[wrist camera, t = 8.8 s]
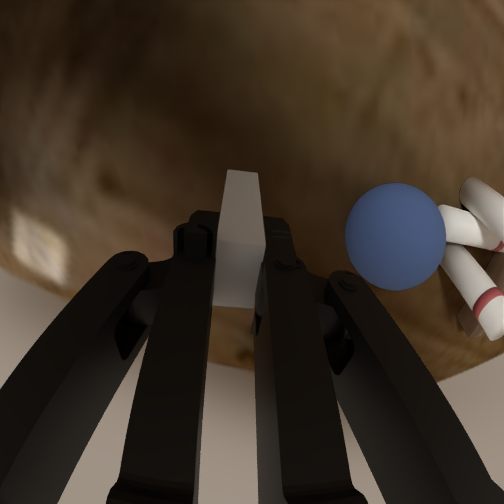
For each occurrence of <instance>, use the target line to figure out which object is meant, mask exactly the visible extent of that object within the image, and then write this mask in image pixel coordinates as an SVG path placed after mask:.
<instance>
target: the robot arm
mask: <svg viewBox="0 0 504 504" xmlns="http://www.w3.org/2000/svg"><path fill="white" fill-rule="evenodd" d="M173 243H174V254H173V257H172V258H170V259H167V260H164V261H159V262H148V258H147V257H146V256H145V255H144V254H142V253H140V252H137V251H123V252H120V253H118V254H115V255H114V256H113V257H111V258H110V259H109V260H108V261H107V262H106V263H105V264H104V265H103V266H102V267H101V268H100V269H99V270H98V271H97V272H96V273H95V275H94V276H93V277H92V278H91V279H90V280H89V281H88V282H87V283H86V284H85V285H84V286H83V287H82V288H81V290H80V291H79V292H78V293H77V294H76V295H75V296H74V297H73V298H72V300H71V301H70V302H69V303H68V304H67V305H66V306H65V307H64V309H63V310H62V311H61V312H60V313H59V314H58V316H57V317H56V318H55V319H54V320H53V321H52V323H51V324H50V325H49V326H48V327H47V329H46V330H45V331H44V332H43V334H42V335H41V336H40V337H39V339H38V340H37V341H36V342H35V343H34V345H33V346H32V347H31V349H30V350H29V351H28V352H27V354H26V355H25V356H24V358H23V359H22V360H21V362H20V363H19V364H18V366H17V367H16V368H15V369H14V371H13V372H12V374H11V375H10V376H9V378H8V379H7V380H6V382H5V384H4V385H3V386H2V388H1V389H0V504H57V503H58V501H59V499H60V497H61V495H62V493H63V491H64V489H65V487H66V485H67V483H68V481H69V479H70V477H71V475H72V473H73V471H74V469H75V467H76V465H77V463H78V461H79V459H80V457H81V455H82V453H83V451H84V449H85V447H86V446H87V444H88V442H89V440H90V438H91V436H92V434H93V432H94V431H95V429H96V427H97V425H98V423H99V421H100V420H101V418H102V416H103V414H104V412H105V410H106V409H107V407H108V405H109V403H110V401H111V400H112V398H113V396H114V394H115V392H116V391H117V389H118V387H119V386H120V384H121V382H122V380H123V378H124V377H125V375H126V374H127V372H128V370H129V368H130V367H131V365H132V363H133V362H134V359H135V358H136V356H137V355H138V353H139V351H140V350H141V348H142V346H143V345H144V343H145V341H146V340H147V338H148V336H149V338H148V342H147V346H146V349H145V353H144V357H143V361H142V365H141V369H140V373H139V378H138V382H137V386H136V390H135V395H134V400H133V404H132V409H131V414H130V419H129V423H128V428H127V434H126V439H125V444H124V450H123V455H122V461H121V468H120V473H119V477H118V480H117V482H116V483H115V484H114V486H113V487H112V488H111V489H110V492H109V494H108V496H107V500H106V504H198V489H199V487H198V486H199V467H200V450H201V434H202V433H201V432H202V419H203V406H204V393H205V380H206V369H207V357H208V346H209V336H210V326H211V315H212V305H216V306H226V307H238V308H249V309H253V308H254V303H255V314H254V318H253V323H252V328H251V333H250V334H254V364H255V399H256V433H257V464H258V465H257V466H258V467H257V468H258V499H259V501H258V503H259V504H368V502H367V500H366V498H365V497H364V495H363V494H362V493H360V492H359V491H358V490H356V489H355V488H354V486H353V484H352V481H351V476H350V470H349V464H348V458H347V452H346V446H345V440H344V435H343V429H342V425H341V419H340V414H339V409H338V404H337V400H338V402H339V404H340V406H341V408H342V410H343V412H344V415H345V416H346V419H347V420H348V423H349V425H350V427H351V429H352V431H353V434H354V436H355V438H356V440H357V442H358V444H359V446H360V448H361V450H362V453H363V455H364V457H365V459H366V461H367V463H368V466H369V468H370V470H371V472H372V474H373V476H374V478H375V481H376V483H377V485H378V487H379V489H380V491H381V493H382V496H383V498H384V500H385V502H386V504H504V491H503V490H502V489H501V488H500V487H499V486H498V485H497V484H496V483H495V482H494V481H493V480H492V479H491V478H490V475H489V474H488V472H487V470H486V468H485V466H484V464H483V462H482V460H481V458H480V456H479V454H478V452H477V451H476V449H475V447H474V445H473V443H472V441H471V440H470V438H469V436H468V434H467V433H466V431H465V429H464V427H463V426H462V424H461V422H460V421H459V419H458V417H457V416H456V414H455V412H454V410H453V409H452V407H451V405H450V404H449V402H448V401H447V399H446V397H445V396H444V394H443V393H442V391H441V389H440V388H439V386H438V385H437V383H436V382H435V380H434V378H433V377H432V375H431V374H430V372H429V371H428V369H427V368H426V366H425V365H424V363H423V362H422V360H421V359H420V357H419V356H418V354H417V353H416V351H415V350H414V348H413V347H412V346H411V344H410V343H409V341H408V340H407V338H406V337H405V335H404V334H403V333H402V331H401V330H400V328H399V327H398V326H397V324H396V323H395V321H394V320H393V319H392V317H391V316H390V314H389V313H388V312H387V310H386V309H385V308H384V306H383V305H382V304H381V302H380V301H379V300H378V298H377V297H376V296H375V294H374V293H373V292H372V290H371V289H370V288H369V286H368V285H367V284H366V282H365V281H364V280H363V279H362V278H361V277H359V276H358V275H356V274H354V273H352V272H349V271H341V270H339V271H335V272H333V273H332V274H331V275H330V276H329V279H326V278H322V277H319V276H316V275H313V274H311V273H309V272H307V270H306V266H305V264H304V263H303V261H302V260H300V259H299V258H298V257H296V253H295V249H294V245H293V241H292V237H291V233H290V229H289V225H288V224H287V223H286V222H285V221H284V220H283V219H282V218H275V217H267V216H263V215H262V206H261V197H260V188H259V180H258V173H254V172H246V171H237V170H227V176H226V182H225V188H224V194H223V200H222V207H221V212H212V211H202V210H197V211H196V212H195V213H193V214H192V215H191V216H190V219H189V222H188V223H183V224H181V225H179V226H177V227H176V228H175V229H174V231H173ZM348 333H349V334H348ZM349 335H350V336H349ZM336 398H337V399H336Z"/></svg>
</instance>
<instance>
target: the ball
mask: <svg viewBox="0 0 504 504" xmlns="http://www.w3.org/2000/svg"><path fill="white" fill-rule="evenodd" d="M345 245H346V250H347V253H348V256H349V259H350V261H351V263H352V265H353V266H354V268H355V269H356V270H357V272H358V273H359V274H360V275H361V276H362V277H363V278H364V279H365V280H367V281H368V282H369V283H371V284H373V285H375V286H377V287H379V288H383V289H387V290H394V291H396V290H406V289H410V288H413V287H415V286H417V285H419V284H421V283H423V282H424V281H425V280H427V279H428V278H429V277H430V276H431V275H432V274H433V273H434V272H435V270H436V269H437V267H438V266H439V264H440V262H441V260H442V258H443V255H444V251H445V246H446V228H445V224H444V220H443V217H442V215H441V212H440V211H439V209H438V207H437V206H436V204H435V203H434V202H433V200H432V199H431V198H430V197H429V196H428V195H426V194H425V193H424V192H422V191H421V190H419V189H417V188H415V187H413V186H410V185H407V184H402V183H388V184H383V185H379V186H377V187H375V188H373V189H371V190H369V191H367V192H366V193H365V194H364V195H362V196H361V197H360V198H359V199H358V200H357V202H356V203H355V204H354V206H353V208H352V209H351V211H350V213H349V216H348V219H347V222H346V227H345Z"/></svg>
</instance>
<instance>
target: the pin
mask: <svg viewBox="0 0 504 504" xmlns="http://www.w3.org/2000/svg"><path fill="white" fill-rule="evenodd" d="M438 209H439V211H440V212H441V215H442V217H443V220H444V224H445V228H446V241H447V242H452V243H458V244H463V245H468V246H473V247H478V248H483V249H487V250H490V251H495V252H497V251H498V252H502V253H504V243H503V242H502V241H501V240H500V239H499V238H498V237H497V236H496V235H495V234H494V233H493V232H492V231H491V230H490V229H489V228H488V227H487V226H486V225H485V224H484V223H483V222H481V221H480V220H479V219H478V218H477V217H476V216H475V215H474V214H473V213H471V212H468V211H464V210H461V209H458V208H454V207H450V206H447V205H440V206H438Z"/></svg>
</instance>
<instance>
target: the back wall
mask: <svg viewBox="0 0 504 504" xmlns="http://www.w3.org/2000/svg"><path fill="white" fill-rule="evenodd" d="M485 272H486V274H487V275H488V276H489V277H490V279H491V280H492V281H493V282H494V284H495V285H496V286H497V287H498V288H499V289H500V290H501V292H502V293H503V294H504V253H502V252H498V251H497V252H494V254H493V256H492V258H491V260H490V262H489V264H488V265H487V267H486V269H485ZM456 317H457V319H458V321H459V322H460V324H461V326H462V327H463V329H464V331H465V333H466V334H467V336H468V338H472V337H480V336H481V334H482V333H483V332H484V329H483V327H482V326H481V324H480V323H479V322H478V321H477V319H476V317H475V316H474V314H473V312H472V310H471V308H470V307H469V305H468V304H467V302H465V304H464V305H463V307H462V308H461V310H460V311H459V313H458V314H457V316H456Z"/></svg>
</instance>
